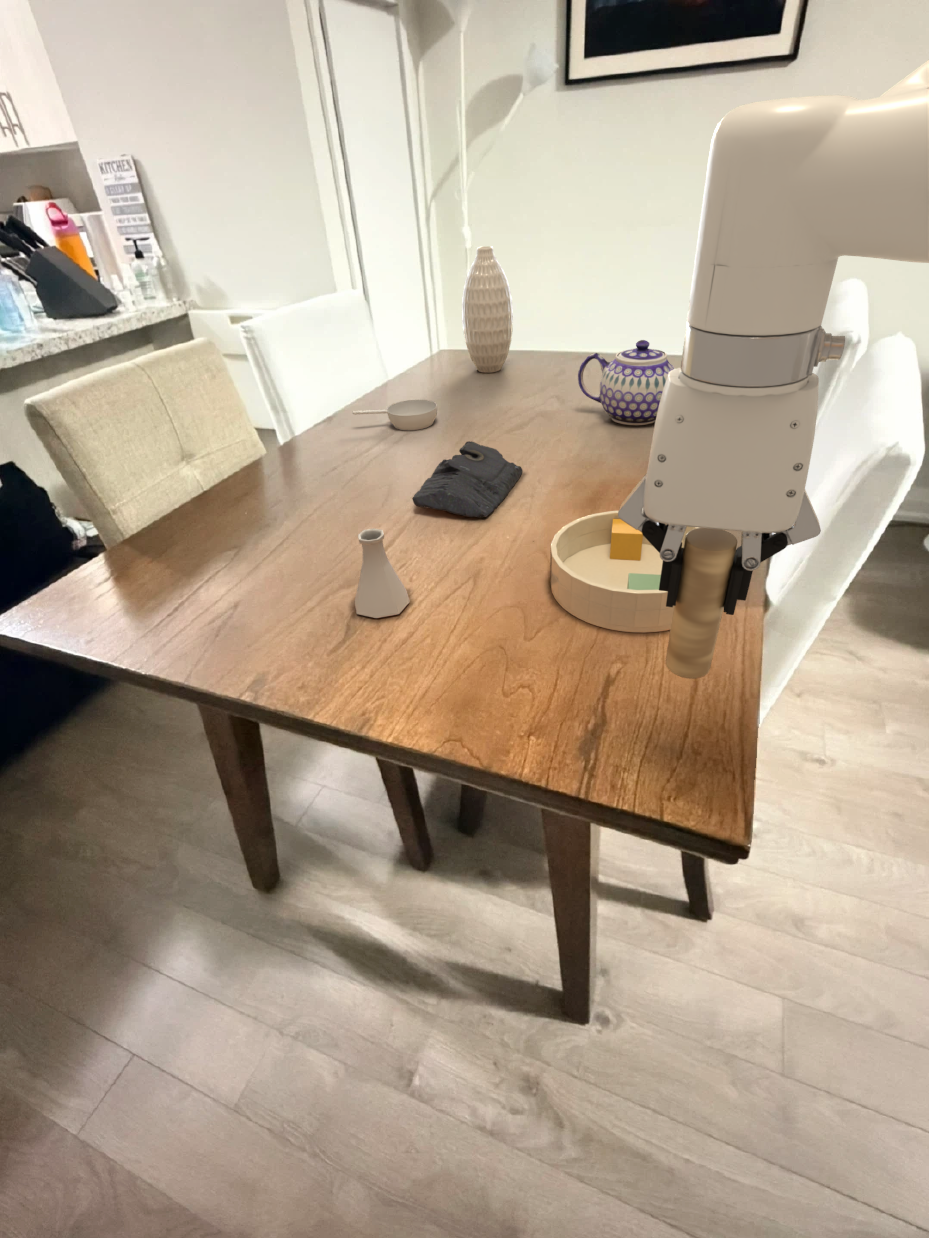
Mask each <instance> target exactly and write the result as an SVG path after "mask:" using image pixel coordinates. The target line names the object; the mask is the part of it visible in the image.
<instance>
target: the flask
mask: <svg viewBox="0 0 929 1238" xmlns="http://www.w3.org/2000/svg"><path fill="white" fill-rule="evenodd" d="M357 538H358V543H359V544H360V545H361V547H362V564H361V569H360V574H359V579H358V584H357V588H356V594H355V598H354V606H355V612H356V615H359V616H364V617H369V618H374V619H379V618H385V617H391V616H396V615H400V614H401V613H402V611H404V609H405V608H406V607H407V606H408V604H410V602H411V600H410V597H409V594H408V591H407V589H406V586H405V585H404V583H403V581H402V580H401V579H400V577H399V575H398V573H397V572H396V571H395V569H394V566H393V565H392V563H391V561H390V560H389V557H388V555H387V553H386V551H385V547H384V542H383V540H384V539H385V533H384V530H383V529H380V528H368V529H367V528H366V529H363V530H362V531H360V532H359V533H358V534H357Z"/></svg>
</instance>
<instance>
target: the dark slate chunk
mask: <svg viewBox="0 0 929 1238" xmlns="http://www.w3.org/2000/svg"><path fill="white" fill-rule="evenodd" d="M458 452H459V454H454V455H453V456H452V457H451V458H450V459H446V458H445V459H442V461H440V462H439V463H438V465H437V466H436V467H435V469H434V471H433V472H432V474H431V475H430V477H428V478H427V479H425V481H424V482H423V484H422V485H421V487H420V489H419V490H418V491H417V492H416V493H414V495H413V496H412V503H413V504H414V505H415V506H416V507H420V508H426V509H431V510H436V511H445V512H448V513H450V514H453V515H459V516H463V517H468V518H486V517H488V516H489V515H490V514H492V512H495V510H496V509H497V508H498V506H500V504H501V503H502V502H503V501H504V499H505V498H507V496H508V494H509V493H510V492H511V490H512V489H513V487H514V486H515V484H516V483H517V482H518V481H519V479H521V476H522V474H523V471H524V470H523V468H522V466H521V465H516V463H514V462H510V461H507V460H506V459H505V457H504V456H503V454H502V453H501V452H500V451H499V450H498V449H496V448H493V447H490V446H486V445H482V444H479V443H477V442H474V441H473V440H472V441H471V440H468V441H466V442H465V443H464V445H462V447H460V448H459V451H458Z"/></svg>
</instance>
